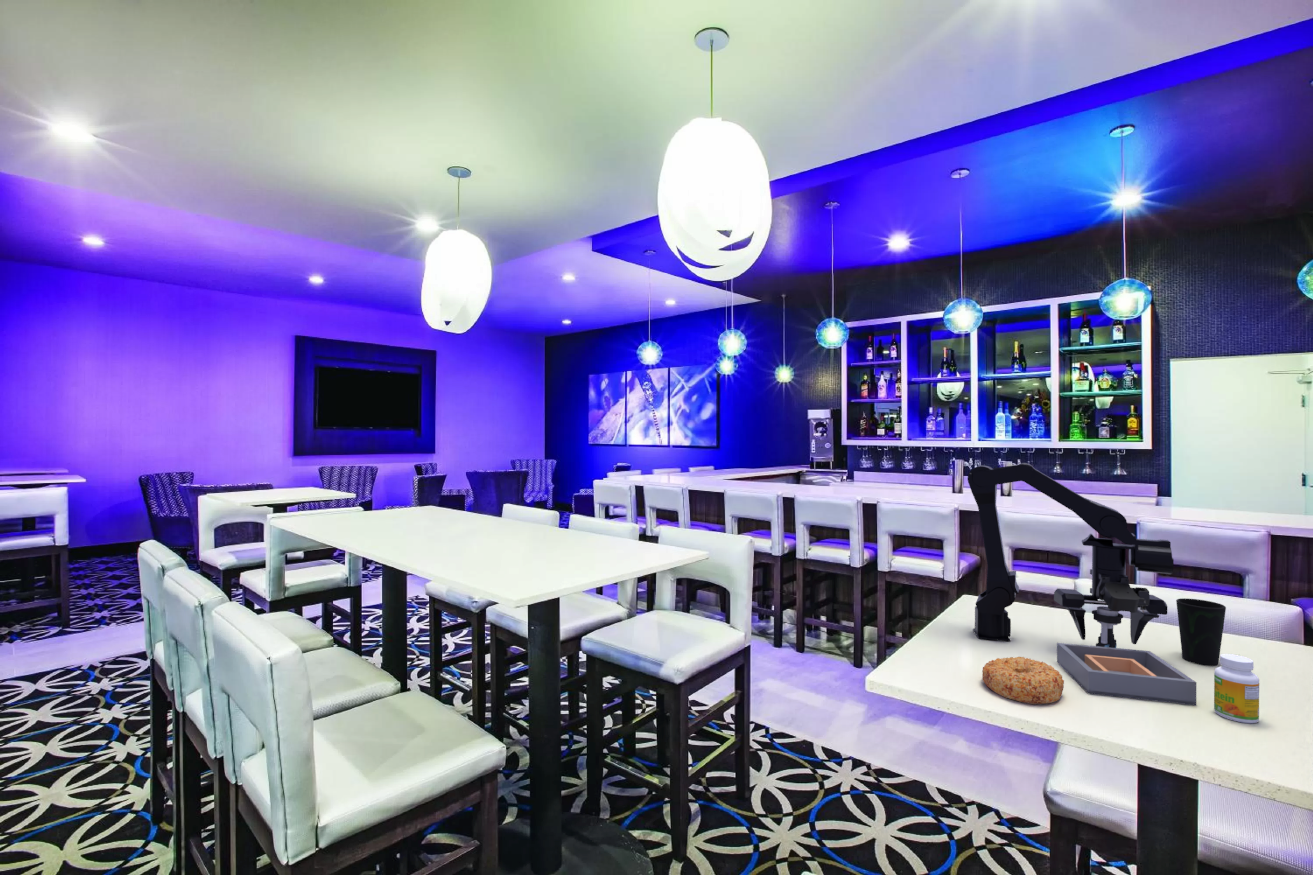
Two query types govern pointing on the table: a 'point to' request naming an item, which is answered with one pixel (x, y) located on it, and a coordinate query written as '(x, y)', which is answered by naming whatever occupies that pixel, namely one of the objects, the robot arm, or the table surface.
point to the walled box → (1125, 673)
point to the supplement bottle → (1236, 689)
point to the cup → (1200, 630)
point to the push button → (1107, 625)
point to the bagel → (1023, 680)
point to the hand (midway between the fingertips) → (1108, 641)
